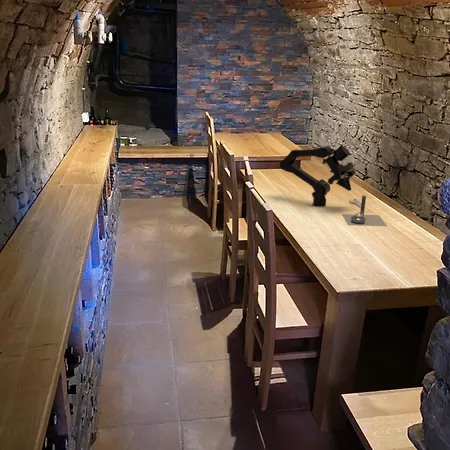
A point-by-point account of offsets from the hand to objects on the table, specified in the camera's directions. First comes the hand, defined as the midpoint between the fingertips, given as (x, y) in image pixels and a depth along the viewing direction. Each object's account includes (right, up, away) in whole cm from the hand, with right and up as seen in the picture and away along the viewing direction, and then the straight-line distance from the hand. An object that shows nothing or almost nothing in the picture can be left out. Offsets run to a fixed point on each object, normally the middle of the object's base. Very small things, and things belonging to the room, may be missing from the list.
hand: (350, 190), depth 263 cm
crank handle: (+2, -16, -7) cm, 17 cm away
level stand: (+6, -17, -6) cm, 19 cm away
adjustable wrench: (+10, -9, +17) cm, 22 cm away
